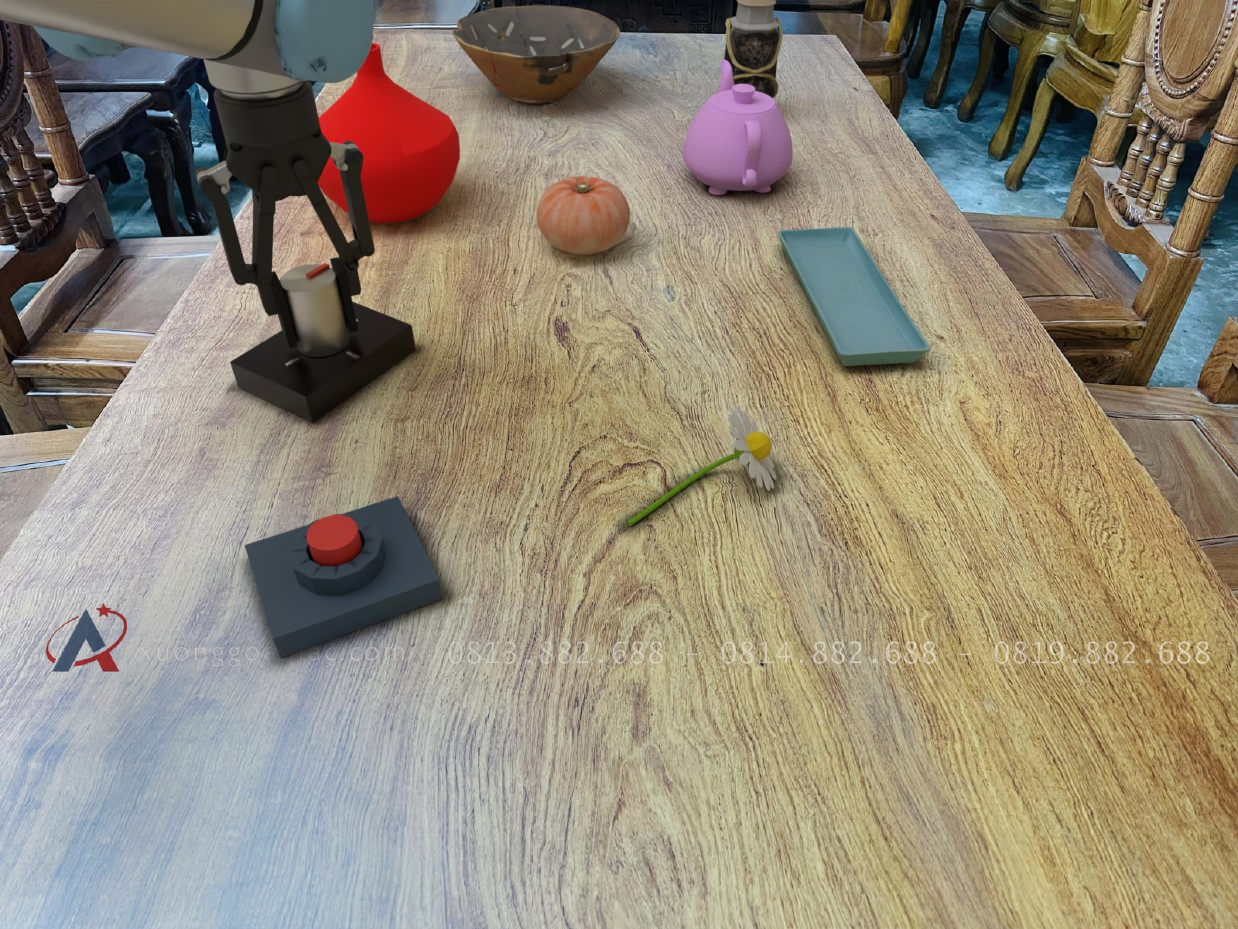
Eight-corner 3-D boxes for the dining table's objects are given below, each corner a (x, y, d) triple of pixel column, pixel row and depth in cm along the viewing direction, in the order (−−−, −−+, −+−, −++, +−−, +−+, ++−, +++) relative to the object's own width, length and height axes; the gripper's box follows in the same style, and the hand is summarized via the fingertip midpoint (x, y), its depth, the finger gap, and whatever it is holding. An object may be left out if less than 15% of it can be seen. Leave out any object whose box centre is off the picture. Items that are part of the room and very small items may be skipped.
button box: (280, 658, 66) (266, 622, 64) (251, 564, 73) (238, 528, 70) (443, 598, 71) (436, 562, 68) (401, 515, 77) (394, 479, 75)
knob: (322, 363, 88) (306, 295, 83) (284, 346, 90) (266, 278, 85) (360, 338, 91) (347, 270, 86) (323, 322, 93) (308, 255, 88)
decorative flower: (647, 468, 71) (770, 385, 79) (604, 482, 76) (723, 402, 84) (696, 557, 72) (813, 465, 80) (650, 565, 77) (764, 478, 85)
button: (318, 573, 68) (313, 556, 66) (306, 540, 70) (301, 524, 69) (367, 556, 69) (363, 539, 68) (354, 525, 71) (350, 508, 70)
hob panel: (312, 423, 86) (305, 395, 84) (237, 387, 90) (228, 360, 88) (416, 350, 95) (412, 323, 93) (344, 320, 99) (338, 294, 97)
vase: (454, 242, 112) (434, 76, 99) (299, 239, 112) (260, 74, 99) (475, 175, 125) (460, 22, 113) (337, 173, 126) (307, 20, 113)
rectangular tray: (774, 245, 112) (776, 226, 110) (849, 242, 112) (853, 222, 111) (836, 375, 92) (840, 354, 91) (926, 370, 93) (932, 349, 91)
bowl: (638, 115, 141) (639, 46, 135) (474, 132, 136) (467, 61, 129) (594, 60, 159) (594, -4, 153) (448, 73, 154) (441, 7, 148)
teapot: (668, 148, 132) (672, 58, 124) (767, 144, 134) (777, 55, 126) (694, 213, 118) (701, 116, 110) (805, 208, 119) (820, 112, 111)
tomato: (567, 277, 106) (565, 211, 100) (521, 238, 112) (517, 174, 107) (647, 252, 110) (649, 188, 105) (598, 216, 117) (598, 153, 112)
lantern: (769, 105, 145) (789, -79, 128) (779, 126, 139) (802, -65, 122) (712, 106, 144) (726, -79, 128) (720, 127, 138) (735, -65, 122)
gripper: (361, 51, 80) (400, 291, 95) (133, 85, 74) (215, 336, 89) (387, 79, 75) (425, 327, 90) (145, 118, 69) (229, 378, 84)
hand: (320, 331), depth 90 cm, fingers closed on knob, 5 cm apart
